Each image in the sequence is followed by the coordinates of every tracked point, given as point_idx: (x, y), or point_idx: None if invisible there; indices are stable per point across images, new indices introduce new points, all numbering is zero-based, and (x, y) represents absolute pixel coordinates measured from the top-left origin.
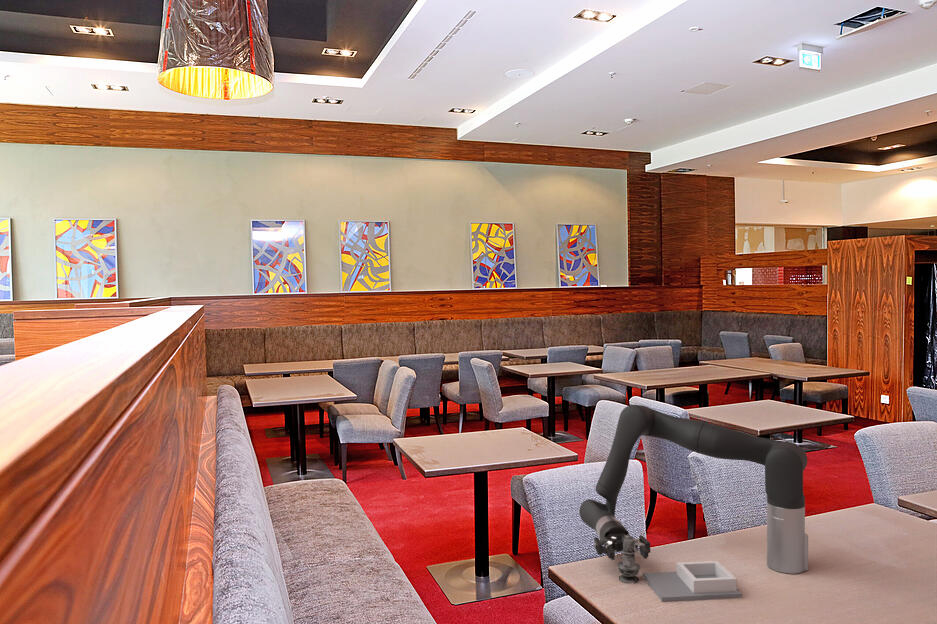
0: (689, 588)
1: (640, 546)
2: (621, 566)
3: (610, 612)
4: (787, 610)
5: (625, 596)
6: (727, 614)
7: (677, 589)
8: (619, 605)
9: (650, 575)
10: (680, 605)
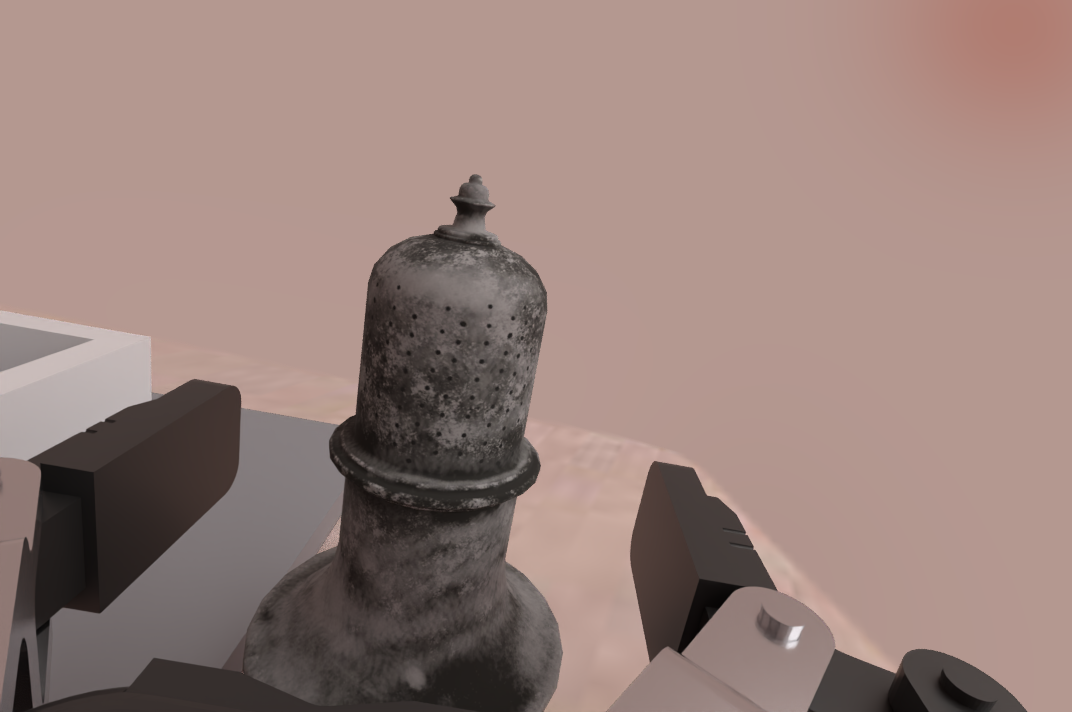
0: None
1: (113, 466)
2: (527, 607)
3: None
4: None
5: (564, 535)
6: (185, 351)
7: None
8: (626, 488)
9: (154, 652)
10: (313, 418)
